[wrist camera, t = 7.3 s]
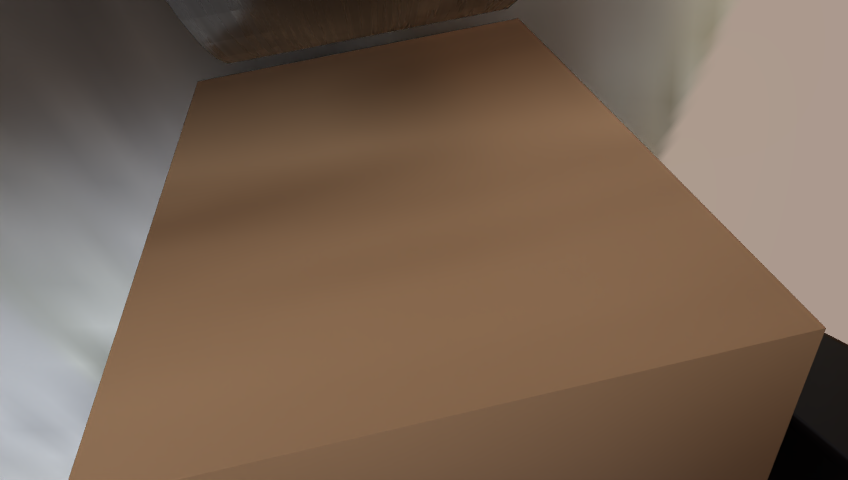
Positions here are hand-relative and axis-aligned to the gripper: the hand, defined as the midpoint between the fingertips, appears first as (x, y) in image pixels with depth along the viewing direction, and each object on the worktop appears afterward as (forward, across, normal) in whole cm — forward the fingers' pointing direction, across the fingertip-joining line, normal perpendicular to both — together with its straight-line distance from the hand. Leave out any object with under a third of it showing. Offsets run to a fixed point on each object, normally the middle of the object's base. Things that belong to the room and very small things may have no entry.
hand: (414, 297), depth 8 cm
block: (+2, 0, 0) cm, 2 cm away
